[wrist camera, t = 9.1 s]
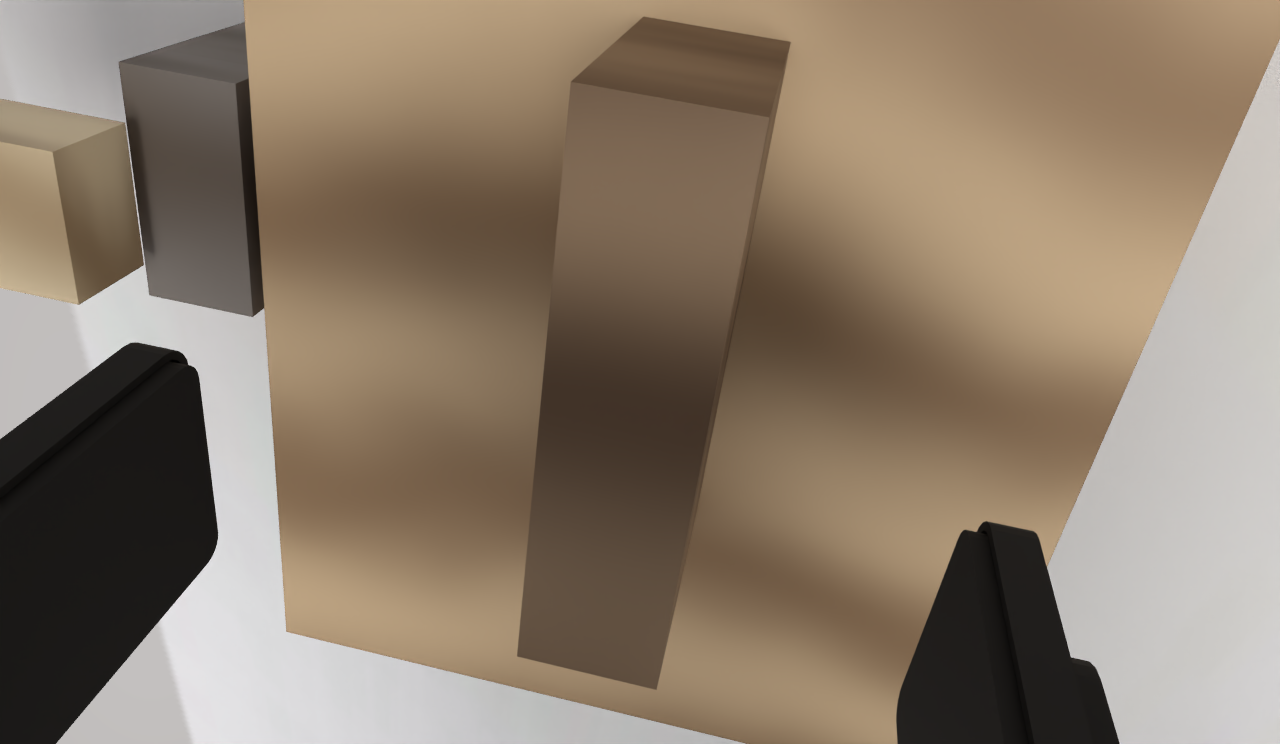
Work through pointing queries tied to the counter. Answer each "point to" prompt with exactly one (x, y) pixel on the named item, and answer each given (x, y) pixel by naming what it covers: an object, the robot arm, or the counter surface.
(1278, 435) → the counter surface
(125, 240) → the bent tan strip
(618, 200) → the lid
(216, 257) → the brown wooden box
